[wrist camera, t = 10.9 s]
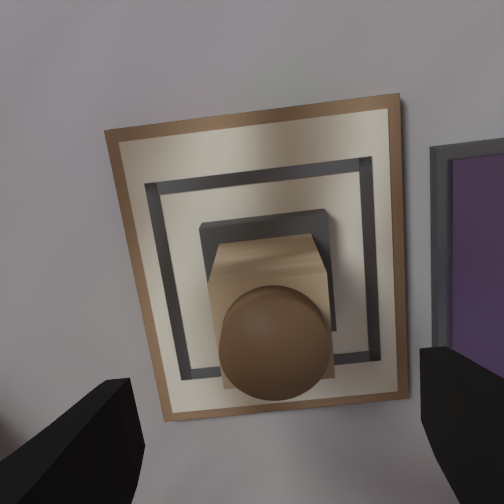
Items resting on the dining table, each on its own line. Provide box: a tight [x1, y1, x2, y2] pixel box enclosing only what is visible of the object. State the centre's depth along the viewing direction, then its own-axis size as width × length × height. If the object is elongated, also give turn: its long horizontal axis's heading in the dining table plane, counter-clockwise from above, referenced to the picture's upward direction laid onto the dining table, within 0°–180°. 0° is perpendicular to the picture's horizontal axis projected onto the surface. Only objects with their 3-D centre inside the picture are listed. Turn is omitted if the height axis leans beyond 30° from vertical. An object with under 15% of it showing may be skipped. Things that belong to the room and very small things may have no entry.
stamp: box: [199, 208, 337, 401], centre depth 17 cm, size 5×5×7 cm
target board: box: [104, 93, 408, 422], centre depth 20 cm, size 11×13×1 cm
